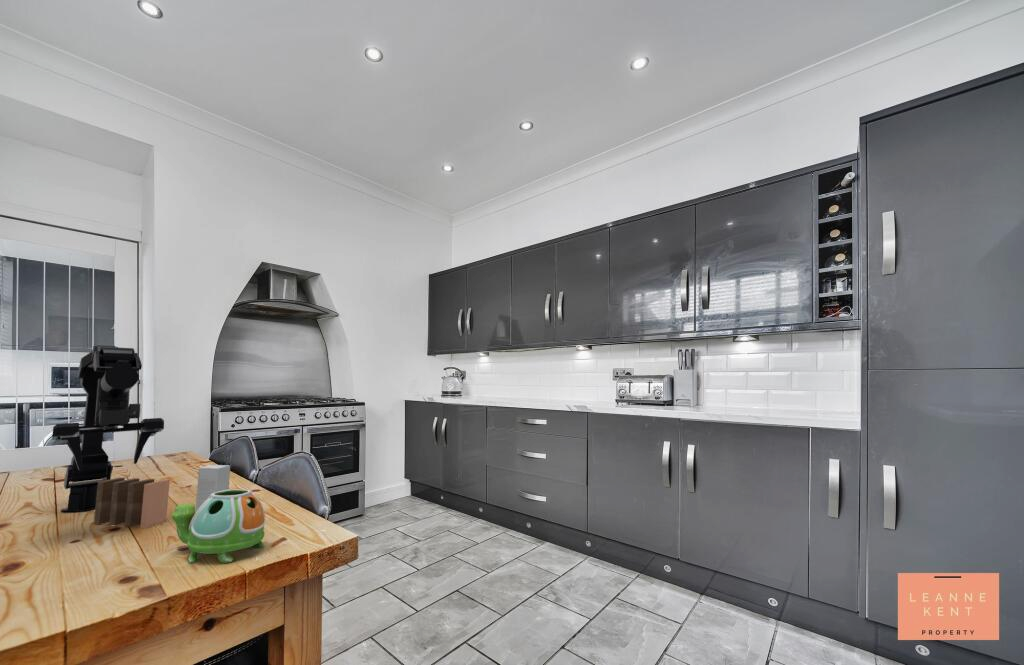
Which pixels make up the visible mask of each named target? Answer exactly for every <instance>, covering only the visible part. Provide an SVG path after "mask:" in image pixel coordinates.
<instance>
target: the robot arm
mask: <svg viewBox="0 0 1024 665" xmlns="http://www.w3.org/2000/svg"><path fill="white" fill-rule="evenodd" d="M142 366H143V364H142V361H141V358H140V356H139V354H138V352H135V349H134V348H133V347H119V346H115V345H106V344H105V345H103V344H98V345H93V346H92V349H91V351H90V352H89V353H87V354H86V355H84V356H83V357H81V358H80V361H79V365H78V372H77V379H79V380H80V383H79V384H80V386H81V387H82V389H83V391H85V394H86V397H85V398H86V400H85V407H84V418H83V424H82V425H81V426H80V423H79V422H68V423H67V422H66V423H57V424H55V425H54V426H53V428H52V434H51V435H52V437H51V440H52V441H59V442H60V444H66V445H67V447H68V448H69V449H70V451H71V453H72V455H73V456H72V457H71V461H70V465H69V464H68V465H67V467H66V471H65V475H64V479H63V481H64V482H63V488H64V489H65V490H69V495H68V498H67V500H68V501H67V507H66V508H64V509H61V510H60V513H68V512H70V513H71V512H87V511H91V510H95V507H96V497H97V488H98V482H100V481H105V480H110V479H112V478H111V477H112V472H113V469H114V466H113V465H112V463H111V461H110V460H109V456H108V454H107V453H106V451H105V450H104V449H103V439H104V434H106V433H108V434H109V433H121V432H123V433H124V432H133V431H134V432H135V431H139V432H140V433H139V434H138V435H137V440H136V445H135V446H136V447H135V451H134V456H133V464H134V465H137V463H138V461H139V458H140V456H141V454H142V451H143V449H144V447H145V445H146V444H147V442H148V440H149V439H150V437H153V436H155V435H156V434H157V433H161V432H162V431H163V430H164V429H165V420H164V419H163V418H161V417H154V418H153V417H152V418H143V419H142V420H141V421H140V422H131V421H130V420H132V419H139V418H140V415H141V403H130V395H131V394H130V391H131V389H132V388H133V387H134V386H135V385H136V384H137V383H138V381H139V378H140V375H139V372H140V370H142ZM80 435H81V436H80Z"/></svg>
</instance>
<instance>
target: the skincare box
mask: <svg viewBox="0 0 1024 665" xmlns="http://www.w3.org/2000/svg"><path fill="white" fill-rule="evenodd" d="M230 474H231V465H229V464H226V465H225V464H224V465H222V464H218V465H217V464H210V465H209V464H208V465H205V466H200V467H198V474H197V475H198V476H197V487H196V488H197V489H196V501H195V512H197V510H198V509H199V508H200V506H201V505H202V504H203V503H204V502H205V501H206V500H207V499H208V498H209V497H210V495H211V494H212V493H215V492H219V491H223V490H230V478H231V477H230V476H231V475H230Z"/></svg>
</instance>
